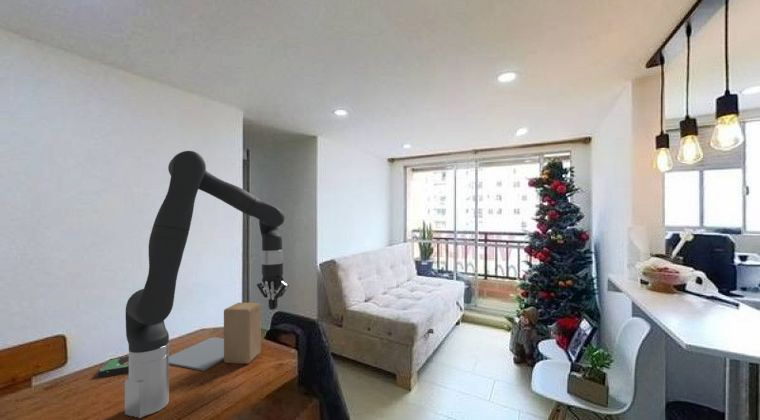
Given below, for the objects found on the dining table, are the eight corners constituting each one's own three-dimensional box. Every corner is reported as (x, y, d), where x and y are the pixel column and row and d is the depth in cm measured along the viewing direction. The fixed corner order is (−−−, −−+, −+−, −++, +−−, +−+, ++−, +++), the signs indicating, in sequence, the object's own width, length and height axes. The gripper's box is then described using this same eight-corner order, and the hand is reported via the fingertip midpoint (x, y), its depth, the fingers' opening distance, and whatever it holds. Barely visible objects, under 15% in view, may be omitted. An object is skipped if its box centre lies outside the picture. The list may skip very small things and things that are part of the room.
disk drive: (157, 359, 121) (109, 366, 116) (157, 351, 121) (109, 358, 116) (149, 371, 111) (96, 379, 106) (149, 363, 112) (96, 371, 106)
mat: (204, 370, 110) (204, 369, 110) (159, 362, 117) (159, 360, 117) (252, 344, 132) (252, 342, 132) (212, 338, 139) (212, 337, 139)
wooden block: (261, 352, 124) (261, 302, 124) (248, 364, 114) (248, 309, 114) (237, 352, 125) (237, 301, 125) (222, 363, 115) (222, 309, 115)
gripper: (250, 263, 114) (251, 310, 114) (281, 264, 110) (282, 313, 110) (264, 260, 121) (265, 305, 121) (293, 261, 117) (294, 307, 117)
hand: (273, 309), depth 115 cm, fingers closed
